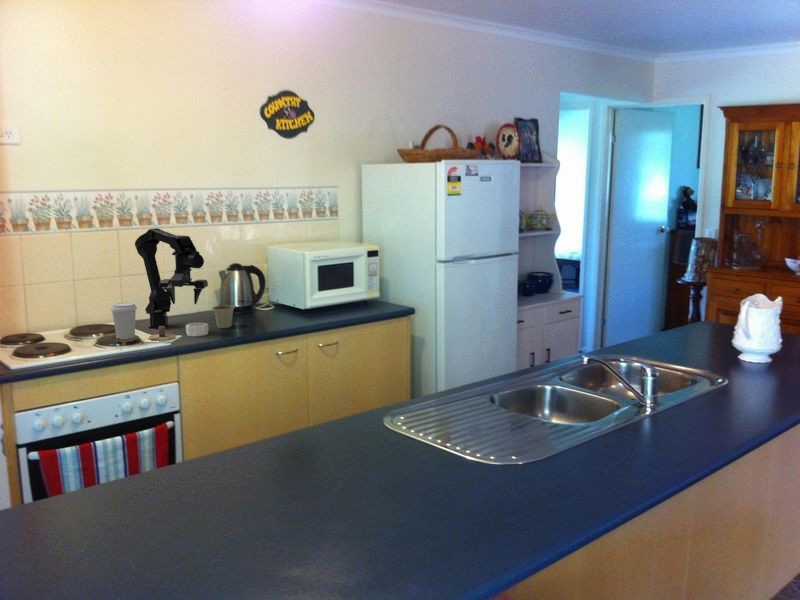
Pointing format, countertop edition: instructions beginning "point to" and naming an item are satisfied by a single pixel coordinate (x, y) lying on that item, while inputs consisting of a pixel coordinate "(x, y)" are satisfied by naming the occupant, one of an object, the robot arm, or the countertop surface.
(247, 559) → the countertop surface
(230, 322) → the flower pot
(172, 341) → the mat
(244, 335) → the countertop surface
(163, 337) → the lid
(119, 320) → the coffee cup
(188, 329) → the bowl
